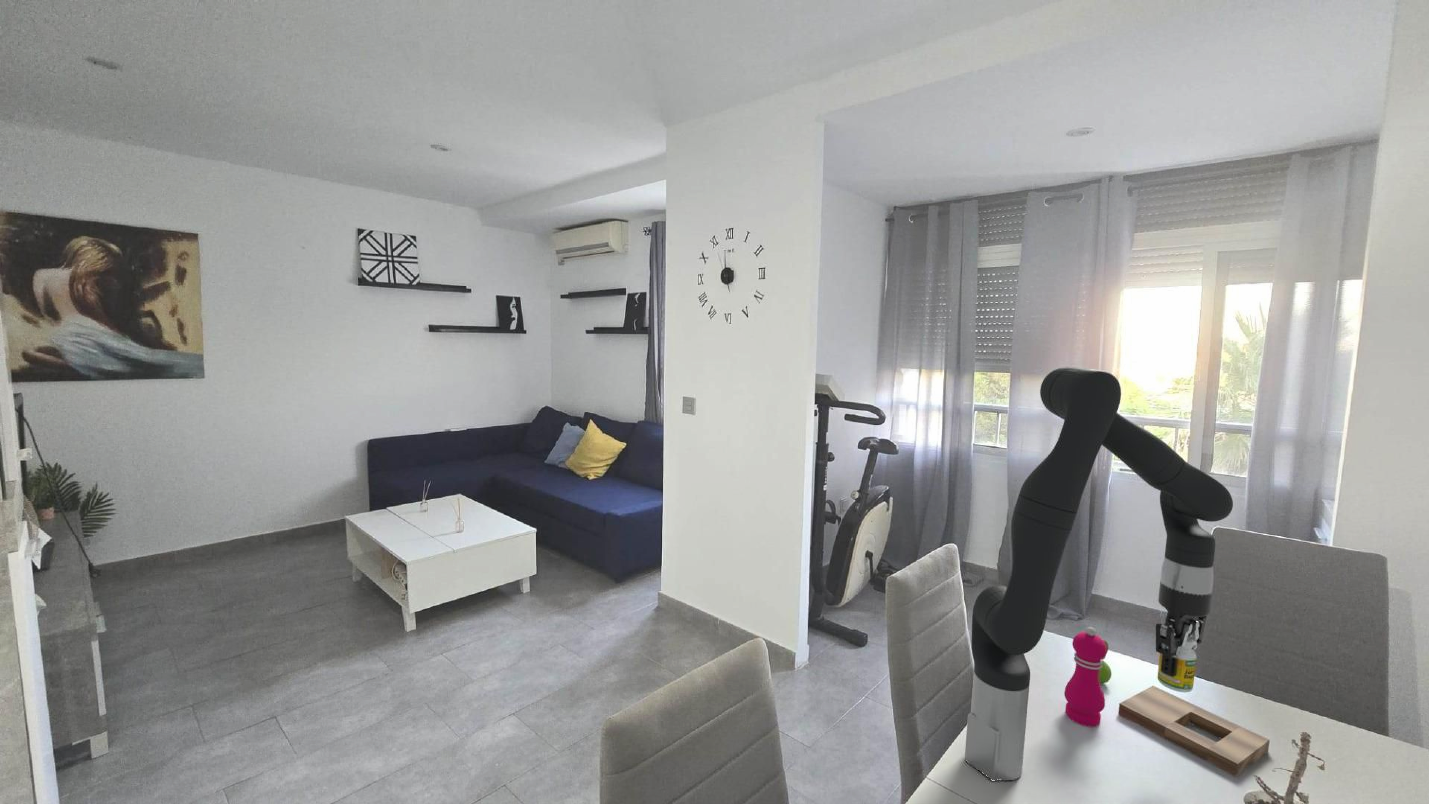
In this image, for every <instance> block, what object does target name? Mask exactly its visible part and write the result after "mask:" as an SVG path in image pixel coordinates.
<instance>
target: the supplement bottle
mask: <svg viewBox="0 0 1429 804" xmlns="http://www.w3.org/2000/svg"><path fill="white" fill-rule="evenodd" d="M1174 640H1176V641H1180V639H1178V638H1175V637H1174ZM1192 647H1193V639H1192V638H1191V637H1188V638H1187V641H1186V644H1185V647H1181V649H1180V653H1179V657H1178V664H1177V673H1176V676H1174V677H1171V676H1169V675H1167V674H1164V673H1163V672H1162V671H1161V663H1162V654H1161V653H1159V661H1158V666H1157V667H1158V668H1157V680H1158V682H1159V683H1160V684H1161V685H1162V686H1163V687H1165V688H1167V689H1170V690H1171V691H1175V692H1179V693H1189V692H1192V691H1193V690H1194V683H1195V673H1196V665H1197V664H1196V663H1197V654H1196V652H1195V650H1194V649H1192ZM1167 648H1168V647H1167ZM1174 649H1175V644H1174Z"/></svg>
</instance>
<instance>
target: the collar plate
mask: <svg viewBox="0 0 1429 804" xmlns="http://www.w3.org/2000/svg"><path fill="white" fill-rule="evenodd" d="M1118 715H1119V716H1121V717H1123V718H1124V719H1126V720H1128V721H1130V722H1132V723H1135V724H1136V725H1137V726H1140V727H1142V728H1143V729H1145V730H1148V731H1149V732H1150V733H1153V734H1155V735H1157V736H1158V737H1161V738H1162V739H1164V740H1166V741H1168V742H1170V743H1172V744H1173V745H1176V747H1179V748H1181V749H1183V750H1185V751H1187V752H1189V753H1191V754H1193V755H1195V756H1197V757H1199V758H1200V759H1202V760H1205V761H1206V762H1208V763H1210V764H1212V765H1213V766H1216V767H1218V768H1219V769H1222V770H1223V771H1225V772H1227V773H1228V774H1230V775H1232V776H1234V777H1238V776H1239V775H1240V774H1242V773H1243V772H1244V771H1245V770H1247V769H1248V768H1249V767H1251V766H1252V765H1253V764H1254V763H1255V762H1258V760H1259V759H1262V757H1264V755H1266V754H1267V753H1268V752H1269V747H1270V739H1269V738H1267V737H1264V736H1262V735H1260V734H1258V733H1256V732H1253V730H1249V729H1247V728H1246V727H1244V726H1241V725H1239V724H1236V723H1234V722H1232V721H1230V720H1228V719H1226V718H1223V717H1222V716H1219V715H1217V714H1215V713H1212V712H1211V711H1208V710H1206V709H1204V708H1202V707H1201V706H1197V705H1195V704H1193V703H1191V702H1189V701H1187V700H1185V699H1183V698H1180V697H1178V696H1177V695H1174V694H1173V693H1170V692H1167V691H1165V690H1163V689H1161V688H1159V687H1157V686H1155V685H1152V686H1150V687H1147V688H1145V689H1144V690H1142V691H1140V692H1138V693H1137V694H1135V695H1133V696H1131V697H1129V698H1126V699H1125V700H1123V701H1122V702H1121V701H1120V703H1119V704H1118ZM1188 724H1191V725H1193V726H1195V727H1197V728H1198V729H1201V730H1203V731H1205V732H1207V733H1210V734H1211V735H1213V736H1215V737H1217V738H1220V740H1218V741H1217V742H1216V741H1214V740H1212V739H1210V738H1208V737H1205V736H1204V735H1202V734H1199V733H1198V732H1196V731H1193V730H1192V729H1190V728H1188V727H1186V725H1188Z"/></svg>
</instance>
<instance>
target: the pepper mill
mask: <svg viewBox="0 0 1429 804" xmlns="http://www.w3.org/2000/svg"><path fill="white" fill-rule="evenodd" d="M1102 639H1103V638H1101V637H1100V636H1099V635H1097V631H1096V629H1095V628H1094V627H1092V626H1087V627H1086V629H1085V632H1084V631H1083V632H1079V633H1077V634H1076V635H1074V637H1073V640H1072V644H1071V645H1072V648H1073V650H1074V653H1073V654H1074V657H1073V661H1074V663H1075V668H1074V669H1075V670H1074V672H1073V675H1072V676H1071V677H1070V679H1069V681H1068V682H1067V683H1066V685H1065V688H1064V698H1065V700H1066V701H1067V702H1066V704H1065V711H1064V712H1065V715H1066V716H1067V718H1069V719H1070V721H1073V722H1074V723H1076V724H1079V725H1081V726H1083V727H1089V728H1090V727H1091V728H1093V727H1095V728H1096V727H1098V726H1100V724H1101V719H1102V718H1101V717H1102V716H1101V715H1102V714H1101V712H1102V711H1103V710H1104V708H1105V706H1106V698H1105V694H1104V692H1103V689H1102V687H1101V684H1099V669H1101V668H1102V663H1103V661H1104V660H1103V661H1102V658H1104V657H1105V655H1106V656H1107V654H1106V652H1107V649H1106V644H1105V642H1104V641H1103V640H1102ZM1107 653H1108V652H1107ZM1105 658H1106V657H1105ZM1105 658H1104V659H1105Z"/></svg>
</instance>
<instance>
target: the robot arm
mask: <svg viewBox="0 0 1429 804" xmlns="http://www.w3.org/2000/svg"><path fill="white" fill-rule="evenodd" d="M1121 387H1122V386H1121V384H1120V381H1119V380H1118V378H1117V377H1116V376H1115V375H1114V374H1112V373H1111V372H1109V371H1106V370H1100V369H1093V368H1083V367H1077V366H1066V367H1065V366H1064V367H1059V368H1057V369H1053V370H1052V371H1050V372H1049V373H1048V374H1047V375H1046V376H1045V377H1044V378H1043V380H1042V382H1041V384H1040V389H1039V393H1040V394H1039V395H1040V399H1041V402H1042V404H1043V405H1044V407H1045V408H1046V409H1047V410H1048V411H1049V412H1050V413H1052V414H1054V415H1055V416H1056V417H1059V418H1060V419H1062V420H1063V424H1062V427H1061V430H1060V433H1059V436H1058V439H1057V441H1056V443H1055V445H1054V447H1053V449H1051V451H1050V453H1048V454H1047V456H1046V457H1045V458H1044V459H1043V460H1042V461H1041V462H1040V464H1038V465H1037V466H1036V467H1035V468H1034V470H1032V471H1031V473H1029V475H1028V476H1027V478H1026V479H1025V480H1024V482H1023V483H1022V485H1021V488H1020V490H1019V494H1018V496H1017V499H1016V503H1015V506H1014V509H1013V513H1012V517H1011V524H1010V533H1011V534H1010V538H1011V539H1010V540H1011V553H1012V554H1011V558H1012V560H1011V562H1012V563H1011V573H1010V577H1009V579H1008V584H1007V586H1004V585H992V586H988V587H987V588H985V589H983V590H982V591H981V592H980V593H979V595H978V596H977V597H976V598H975V602H974V605H973V608H972V617H971V618H972V619H971V641H970V643H971V645H970V647H971V654H972V658H973V663H974V665H973V667H974V668H973V677H972V680H973V682H972V691H971V692H972V694H971V703H970V712H969V713H968V714H967V723H966V734H965V735H966V736H965V737H966V738H965V749H964V751H965V752H964V761H965V760H967V761H968V762H969V763H970V764H971V765H973V766H974V767H975V768H976V769H975V768H974V767H973V766H972V767H973V768H974V769H975V770H977V769H978V770H980V771H981V772H983V773H984V774H985V775H987V776H988V777H989V778H990V779H992V780H997V779H1001V780H1000V781H1002V780H1012V781H1016V780H1018V779H1019V778H1020V777H1021V776H1022V773H1023V764H1024V755H1025V754H1024V753H1025V752H1024V751H1025V742H1026V729H1027V717H1028V715H1027V714H1028V706H1029V703H1028V702H1029V694H1030V685H1031V684H1030V683H1031V682H1030V681H1031V669H1030V666H1029V664H1028V661H1027V658H1026V657H1025V654H1027V653H1029V652H1031V651H1032V650H1033V649H1034V648H1035V647H1036V646H1037V645H1038V643H1039V642H1040V641H1041V638H1042V636H1043V633H1044V632H1045V631H1044V630H1045V627H1046V622H1047V618H1048V612H1049V608H1050V607H1049V606H1050V602H1051V596H1052V593H1053V588H1054V584H1055V580H1056V577H1057V573H1058V571H1059V568H1060V565H1061V562H1062V558H1063V555H1064V551H1065V549H1066V545H1067V542H1068V540H1069V537H1070V535H1071V532H1072V529H1073V526H1074V522H1075V520H1076V517H1077V514H1078V511H1079V508H1080V505H1081V504H1080V503H1081V500H1082V497H1083V494H1084V492H1085V489H1086V486H1087V483H1088V480H1089V478H1090V475H1091V472H1092V470H1093V466H1094V464H1095V461H1096V458H1097V456H1098V454H1099V452H1100V449H1101V447H1104V448H1105V449H1107V450H1108V451H1109V452H1110V453H1111V454H1113V455H1114V456H1115V457H1116V458H1117V459H1119V460H1120V461H1121V462H1123V463H1124V464H1125V465H1126V466H1127V467H1128V468H1129V469H1130V470H1131V471H1133V473H1135V474H1136V475H1137V476H1138V477H1140V479H1141V480H1143V481H1144V482H1145V483H1146V484H1148V485H1149V486H1151V488H1153V489H1155V490H1157V491H1160V493H1159V505H1160V510H1161V515H1162V520H1163V524H1164V525H1163V526H1164V528H1165V533H1166V540H1165V548H1164V549H1165V551H1164V558H1163V561H1162V564H1161V572H1160V579H1159V581H1160V582H1159V591H1158V598H1157V599H1158V600H1157V601H1158V603H1159V605H1160V606H1161V607H1162V608H1164V609H1165V610H1166V611H1167V613H1166V616H1165V617H1164V621H1163V623H1161V622H1156V624H1155V652H1156V653H1159V654H1160V653H1161V654H1162V663H1161V671H1162V672H1163V673H1164V674H1167V675H1169V676H1171V677H1174V676H1176V673H1177V664H1178V657H1179V653H1180V649H1181V647H1185V644H1186V641H1187V638H1188V637H1191V638H1192V639H1193V647H1192V649H1193V650H1194V651H1195V650H1196V649H1197V647H1198V645H1201V643H1202V642H1203V636H1204V631H1205V627H1206V626H1205V625H1206V623H1207V621H1206V620H1207V616H1209V615H1210V613H1211V612H1210V611H1211V604H1212V593H1213V587H1214V577H1215V576H1214V561H1215V552H1216V539H1215V537H1214V536H1213V535H1212V534H1211V533H1210V532H1208V531H1207V530H1205V529H1204V528H1202V526H1201V525H1200V524H1199V521H1198V520H1200V521H1203V522H1210V523H1211V522H1220V521H1221V520H1225V519H1226V518H1228V516H1230V514H1231V513H1232V511H1233V507H1234V501H1233V497H1232V495H1231V493H1230V491H1229V490H1228V489H1227V488H1226V486H1225V485H1224V484H1223V483H1221V482H1219V481H1218V480H1217V479H1216V478H1214V477H1213V476H1211V475H1209V474H1208V473H1206V472H1204V471H1203V470H1201V469H1199V468H1197V467H1196V466H1193V465H1192V464H1191V463H1189V462H1188V461H1186V460H1185V459H1184V458H1183V457H1182V456H1181V455H1180V454H1178V452H1177V451H1175V450H1174V449H1173V448H1172V447H1171V446H1169V444H1167V443H1166V442H1165V441H1163V440H1162V439H1161V438H1159V437H1158V436H1157V435H1155V434H1154V433H1152V432H1151V431H1149V430H1147V429H1145V428H1143V427H1142V426H1140V425H1138V424H1136V423H1135V422H1133V421H1131V420H1130V419H1128V418H1126V417H1124V416H1123V415H1121V414H1120V413H1118V410H1119V407H1120V404H1121V398H1122V388H1121ZM1174 637H1175V638H1178V639H1180V641H1176V640H1174ZM1174 644H1175V649H1174ZM1167 647H1168V648H1167ZM969 763H968V764H969ZM970 764H969V765H970ZM971 765H970V766H971ZM978 770H977V771H978ZM981 772H980V773H981ZM985 775H984V776H985ZM989 778H988V779H989ZM1017 778H1018V779H1017ZM990 779H989V780H990ZM1015 779H1016V780H1015ZM997 781H998V780H997Z"/></svg>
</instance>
